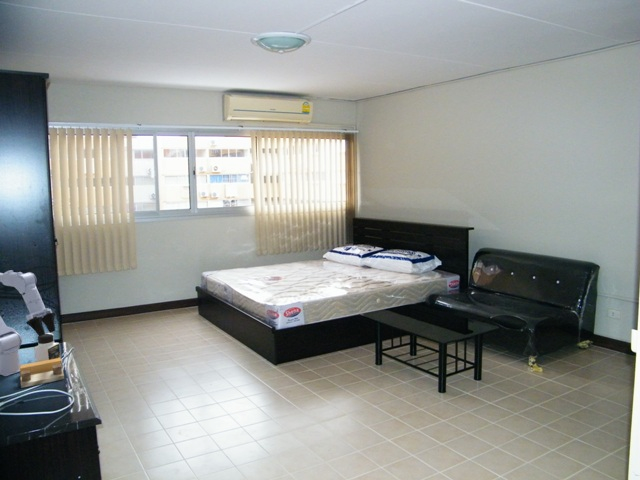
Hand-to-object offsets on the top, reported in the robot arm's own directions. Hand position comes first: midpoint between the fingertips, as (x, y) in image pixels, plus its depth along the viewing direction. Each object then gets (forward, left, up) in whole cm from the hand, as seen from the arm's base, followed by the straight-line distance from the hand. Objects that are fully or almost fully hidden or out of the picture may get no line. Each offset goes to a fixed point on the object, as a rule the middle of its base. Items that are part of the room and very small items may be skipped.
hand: (47, 333), depth 206 cm
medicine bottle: (-20, +10, -19) cm, 29 cm away
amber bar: (-9, +1, -19) cm, 21 cm away
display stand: (-2, -3, -19) cm, 19 cm away
